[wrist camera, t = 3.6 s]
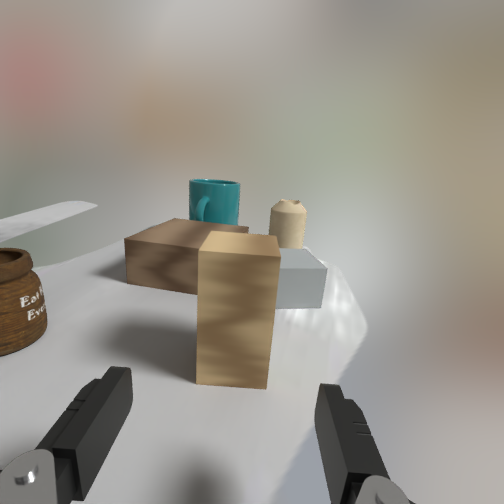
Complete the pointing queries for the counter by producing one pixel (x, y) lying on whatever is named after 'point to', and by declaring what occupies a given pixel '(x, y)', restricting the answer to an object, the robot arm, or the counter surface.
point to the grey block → (300, 280)
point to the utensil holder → (19, 302)
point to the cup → (214, 201)
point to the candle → (288, 223)
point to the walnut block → (170, 254)
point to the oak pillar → (236, 308)
